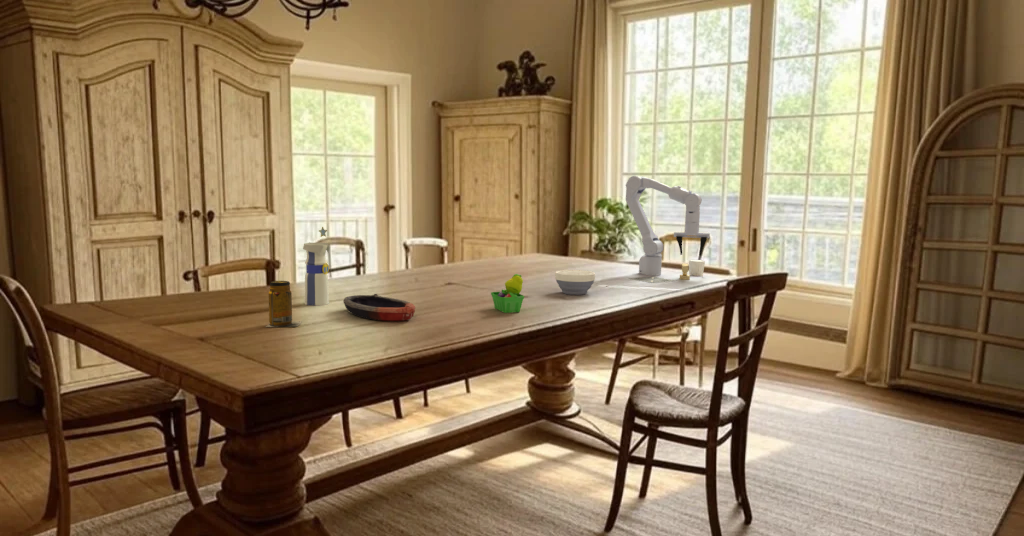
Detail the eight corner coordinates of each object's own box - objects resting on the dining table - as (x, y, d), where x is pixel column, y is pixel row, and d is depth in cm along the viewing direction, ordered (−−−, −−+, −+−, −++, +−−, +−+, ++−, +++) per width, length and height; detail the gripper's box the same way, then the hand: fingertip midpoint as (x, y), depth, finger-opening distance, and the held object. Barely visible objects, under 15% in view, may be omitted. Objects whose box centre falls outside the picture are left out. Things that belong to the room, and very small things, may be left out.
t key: (689, 281, 291) (690, 266, 290) (679, 281, 291) (680, 265, 291) (689, 279, 299) (690, 263, 298) (679, 278, 300) (680, 263, 299)
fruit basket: (489, 307, 228) (489, 272, 227) (515, 306, 231) (516, 271, 230) (501, 314, 217) (502, 277, 216) (528, 312, 220) (529, 276, 219)
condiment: (271, 322, 200) (270, 279, 199) (302, 322, 201) (301, 279, 199) (264, 327, 193) (263, 283, 191) (297, 327, 194) (296, 283, 192)
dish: (374, 306, 229) (374, 290, 228) (431, 321, 206) (431, 304, 206) (330, 311, 218) (329, 295, 218) (385, 327, 196) (385, 309, 195)
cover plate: (627, 280, 294) (627, 278, 294) (653, 278, 301) (653, 276, 301) (651, 285, 282) (651, 282, 282) (677, 283, 289) (677, 280, 289)
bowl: (581, 297, 250) (581, 276, 249) (546, 293, 258) (547, 272, 257) (602, 293, 261) (602, 272, 260) (568, 288, 270) (569, 268, 269)
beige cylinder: (687, 277, 309) (688, 260, 308) (688, 275, 316) (689, 259, 315) (703, 277, 307) (704, 261, 306) (704, 275, 314) (705, 260, 313)
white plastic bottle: (335, 302, 234) (334, 225, 231) (322, 306, 226) (320, 227, 222) (313, 300, 236) (312, 224, 233) (299, 304, 228) (297, 226, 225)
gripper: (674, 222, 296) (672, 255, 298) (710, 223, 293) (708, 256, 294) (674, 221, 303) (673, 253, 304) (709, 222, 299) (708, 254, 301)
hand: (690, 254), depth 300 cm, fingers open, 7 cm apart
